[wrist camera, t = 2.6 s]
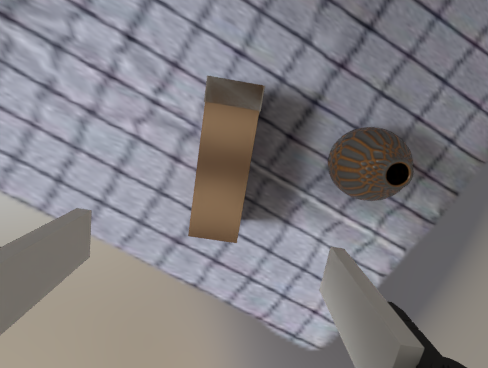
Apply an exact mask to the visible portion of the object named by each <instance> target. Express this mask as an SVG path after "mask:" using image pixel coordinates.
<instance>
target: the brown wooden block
mask: <svg viewBox="0 0 488 368" xmlns="http://www.w3.org/2000/svg"><path fill="white" fill-rule="evenodd" d="M264 89H265V86H263V85H257V84H252V83H246V82H240V81H235V80H229V79H223V78H218V77H212V76H207V81H206V90H205V98H204V102H205V107H204V115H203V123H202V131H201V139H200V147H199V155H198V163H197V171H196V179H195V187H194V195H193V203H192V211H191V219H190V227H189V235H188V236H191V237H198V238H205V239H212V240H219V241H226V242H233V243H237V238H238V232H239V226H240V221H241V215H242V209H243V203H244V197H245V192H246V186H247V180H248V174H249V169H250V163H251V157H252V151H253V145H254V140H255V134H256V128H257V122H258V116H259V112H260V111H261V106H262V100H263V95H264Z"/></svg>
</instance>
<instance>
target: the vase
mask: <svg viewBox="0 0 488 368" xmlns="http://www.w3.org/2000/svg"><path fill="white" fill-rule="evenodd" d="M328 170H329V173H330V176H331V178H332V180H333V182H334V183H335V185H336V186H337V187H338V188H339V189H340V190H342V191H343V192H344V193H346V194H347V195H349V196H351V197H353V198H356V199H360V200H367V201H375V200H382V199H386V198H388V197H391V196H393V195H394V194H396V193H397V192H399V191H400V190H401V189H402V188H403V187H405V186H406V185H408V184H409V182H410V181H411V179H412V177H413V159H412V155H411V152H410V150H409V148H408V146H407V145H406V143H405V142H404V141H403V140H402V139H401V138H399V137H398V136H397V135H395V134H394V133H392V132H390V131H387V130H385V129H381V128H374V127H366V128H359V129H355V130H353V131H350V132H348V133H346V134H345V135H343V136H342V137H341V138H340V139H339V140H338V141H337V142H336V143H335V144H334V145H333V147H332V149H331V151H330V154H329V158H328Z"/></svg>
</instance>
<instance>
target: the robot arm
mask: <svg viewBox="0 0 488 368" xmlns="http://www.w3.org/2000/svg"><path fill="white" fill-rule="evenodd" d="M90 235H91V210H85V209H79V208H76V209H74V210H72V211H70V212H69V213H67V214H65V215H63V216H61V217H59V218H57V219H55V220H53V221H51V222H49V223H47V224H45V225H43V226H41V227H39V228H38V229H35V230H34V231H32V232H30V233H28V234H26V235H24V236H22V237H20V238H18V239H16V240H14V241H12V242H10V243H8V244H6V245H5V246H3V247H0V335H1V334H2V333H3V332H5V331H6V330H7V329H8V328H9V327H10V326H11V325H12V324H14V323H15V322H16V321H17V320H18V319H19V318H20V317H22V316H23V315H24V314H25V313H26V312H27V311H28V310H30V309H31V308H32V307H33V306H34V305H35V304H37V303H38V302H39V301H40V300H41V299H42V298H43V297H44V296H46V295H47V294H48V293H49V292H50V291H51V290H52V289H54V288H55V287H56V286H57V285H58V284H59V283H61V282H62V281H63V280H64V279H65V278H66V277H67V276H69V275H70V274H71V273H72V272H73V271H74V270H75V269H77V268H78V267H79V266H80V265H81V264H82V263H83V262H84V261H86V260H87V259H88V258H89V257H90ZM320 292H321V295H322V297H323V299H324V301H325V303H326V305H327V308H328V310H329V312H330V314H331V316H332V318H333V321H334V323H335V325H336V327H337V329H338V331H339V334H340V336H341V338H342V340H343V342H344V344H345V347H346V348H347V351H348V353H349V355H350V357H351V359H352V362H353V364H354V366H355V368H466V367H465V366H463V365H462V364H460V363H458V362H456V361H454V360H452V359H450V358H446V357H443V356H442V355H441V354H440V353H439V352H438V351H437V349H436V348H435V347H434V346H433V345H432V344H431V342H430V341H429V340H428V339H427V338H426V337H425V336H424V334H423V333H422V332H421V331H420V330H418V327H417V326H416V325H415V324H414V323H413V322H412V321H411V319H410V318H409V317H408V316H407V315H406V313H405V312H404V311H403V310H402V309H400V308H399V307H398V306H396V305H395V304H394V303H392V302H387V301H386V300H385V299H384V297H383V296H382V295H381V294H380V292H379V291H378V290H377V289H376V288H375V286H374V285H373V284H372V283H371V281H370V280H369V279H368V278H367V276H366V275H365V274H364V273H363V271H362V270H361V269H360V268H359V267H358V265H357V264H356V263H355V262H354V260H353V259H352V258H351V257H350V255H349V254H348V253H347V252H346V251H345V249H342V248H336V247H330V251H329V255H328V259H327V263H326V267H325V271H324V274H323V278H322V282H321V286H320Z"/></svg>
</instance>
